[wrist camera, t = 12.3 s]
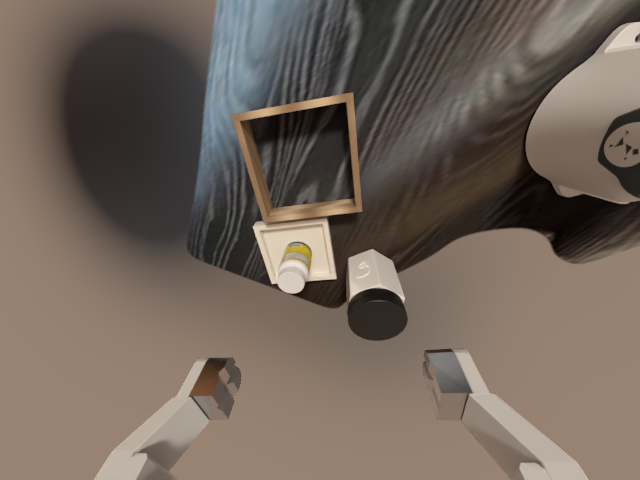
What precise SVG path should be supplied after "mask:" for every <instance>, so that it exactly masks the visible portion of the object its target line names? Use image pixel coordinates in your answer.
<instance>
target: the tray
mask: <svg viewBox="0 0 640 480" xmlns="http://www.w3.org/2000/svg"><path fill="white" fill-rule="evenodd" d="M253 229H254V232H255V235H256V238H257V241H258V244H259V247H260V250H261V253H262V256H263V259H264V262H265V265H266V268H267V271H268V274H269V277H270V280H271V283H272V284H278V283H277V280H278V276H279V275H278V269H279V266H280V263H281V260H282V257H283V254H284V251H285V248H286V246H287V245H288V244H289V243H291V242H293V241H302V242H305V243H306V244H308V245H309V246H310V248H311V250H312V257H311V263H310V270H309V275H308V278H307V280H306V281H317V280H330V279H336V277H337V272H336V266H335V259H334V253H333V246H332V240H331V234H330V227H329V221H328V216H320V217H311V218H303V219H294V220H285V221H277V222H268V223H264V221H259V222H256V223H255V224H254V226H253Z"/></svg>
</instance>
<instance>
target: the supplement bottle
mask: <svg viewBox="0 0 640 480" xmlns="http://www.w3.org/2000/svg"><path fill="white" fill-rule="evenodd" d="M311 257H312V250H311V248H310V246H309V245H308V244H306V243H305V242H302V241H293V242H291V243H289V244H288V245H287V246H286V248H285V251H284V254H283V257H282V260H281V263H280V266H279V269H278V275H279V276H278V280H277V283H278V286H279V288H280V289H281V290H283V291H284V292H287V293H298V292H300V291H301V290H302V289H303V288H304V285H305V281H306V280H307V278H308V275H309V270H310V263H311Z"/></svg>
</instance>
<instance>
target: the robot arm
mask: <svg viewBox="0 0 640 480" xmlns="http://www.w3.org/2000/svg"><path fill="white" fill-rule="evenodd" d="M637 35H638V38H637V40H636V41H635V38H636V36H637ZM526 155H527V159H528V161H529V164H530V165H531V167H532V168H533V169H534V170H535V172H537V173H538V174H539V175H541V176H543V177H544V178H546V179H548V180H549V181H550V182H551V183H552V185H553V187H554V189H555V191H556V192H557V194H558V195H561V196H564V197H573V196H577V195H581V194H587V195H590V196H594V197H597V198H601V199H604V200H607V201H611V202H614V203H619V204H628V203H629V202H634V201H640V22H635V23H627V24H624V25H622V26H620V27H618V28H617V29H616V30H615V31H614V32H613V33H612V34H611V35H610V36H609V37H608V38H607V39H606V40H605V41H604V42H603V44H602V45H601V46H600V47H599V48H598V50H597V51H596V52H595V53H594V55H593V56H591V57H590V58H589V59H588V60H587V61H586V62H584V63H583V64H582V65H580V66H579V67H577V68H576V69H575V70H573V71H572V72H571V73H569V74H568V75H567V76H566V77H565V78H563V79H562V80H561V81H560V82H559V83H558V84H557V85H556V86H555V87H554V88H553V89H552V90H551V91H550V93H549V94H548V95H547V96H546V97H545V99H544V100H543V102H542V103H541V104H540V106H539V108H538V109H537V111H536V113H535V114H534V117H533V119H532V121H531V123H530V126H529V129H528V132H527V137H526ZM424 358H425V361H424V362H423V374H424V379H425V383H426V386H427V388H428V389H429V390H430V391H431V392H432V394H431V402H432V406H433V409H434V412H435V415H436V419H437V420H462V421H461V422H462V423H463V424H464V426H465V427H466V428H467V429H468V430H469V431H470V433H471V434H472V435H473V436H474V437H475V438H476V439H477V441H478V442H479V443H480V444H481V445H482V446H483V448H484V449H485V450H486V451H487V452H488V453H489V454H490V456H491V457H492V458H493V459H494V460H495V461H496V463H498V465H499V466H500V467H501V468H502V469H503V471H504V472H505V473H506V474H507V475H508V476H509V478H510V480H588V478H587V477H586V475H585V474H584V472H583V470H582V469H581V467H580V466H579V465H578V463H577V462H576V461H575V460H573V459H572V458H571V457H570V456H569V455H567V454H566V453H565V452H564V451H563V450H562V449H560V448H559V447H558V446H557V445H556V444H554V443H553V442H552V441H551V440H550V439H548V438H547V437H546V436H545V435H544V434H542V433H541V432H540V431H539V430H537V429H536V428H535V427H534V426H533V425H532V424H530V423H529V422H528V421H527V420H526V419H524V418H523V417H522V416H521V415H520V414H518V413H517V412H516V411H515V410H514V409H512V408H511V407H510V406H509V405H508V404H506V403H505V402H504V401H503V400H502V399H501V398H499V397H498V396H497V395H496V394H492V393H490V392H489V390H488V388H487V386H486V385H485V383H484V381H483V379H482V377H481V375H480V373H479V371H478V369H477V367H476V365H475V363H474V362H473V360H472V358H471V356H470V354H469V352H468V351H467V350H466V349H441V350H425V351H424ZM234 364H235V360H234V359H233V358H232V357H229V358H228V357H227V358H199V359H198V360H197V361H196V362H195V364H194V366H193V368H192V370H191V371H190V373H189V375H188V377H187V378H186V380H185V382H184V384H183V386H182V388H181V389H180V391H179V393H178V395H177V397H173V398H172V399H171V400H169V401H168V402H167V403H166V404H165V405H164V406H163V407H161V408H160V409H159V410H158V411H157V412H156V413H155V414H154V415H152V416H151V417H150V418H149V419H148V420H147V421H146V422H145V423H143V424H142V425H141V426H140V427H139V428H138V429H137V430H136V431H135V432H133V433H132V434H131V435H130V436H129V437H128V438H127V439H125V440H124V441H123V442H122V443H121V444H120V445H119V446H118V447H117V448H115V449H114V450H113V451H112V452H111V454H110V456H109V457H108V459H107V460H106V462H105V463H104V465H103V466H102V468H101V470H100V471H99V473H98V474H97V476H96V477H95V479H94V480H177V478H176V477H175V476H173V475H172V474H171V473H170V472H169V470H170V469H171V468H172V467H173V466H174V464H175V463H176V462H177V461H178V459H179V458H180V457H181V456H182V454H183V453H184V452H185V451H186V450H187V448H188V447H189V446H190V444H191V443H192V442H193V441H194V440H195V438H196V437H197V436H198V435H199V433H200V432H201V431H202V430H203V429H204V427H205V426H206V425H207V424H208V422H209V420H217V419H229V416H230V413H231V410H232V407H233V404H234V398H233V396H234V394H235V393H236V392H237V391H238V390H239V387H240V384H241V371H240V369H239V368H238V367H237V366H235V365H234Z"/></svg>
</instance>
